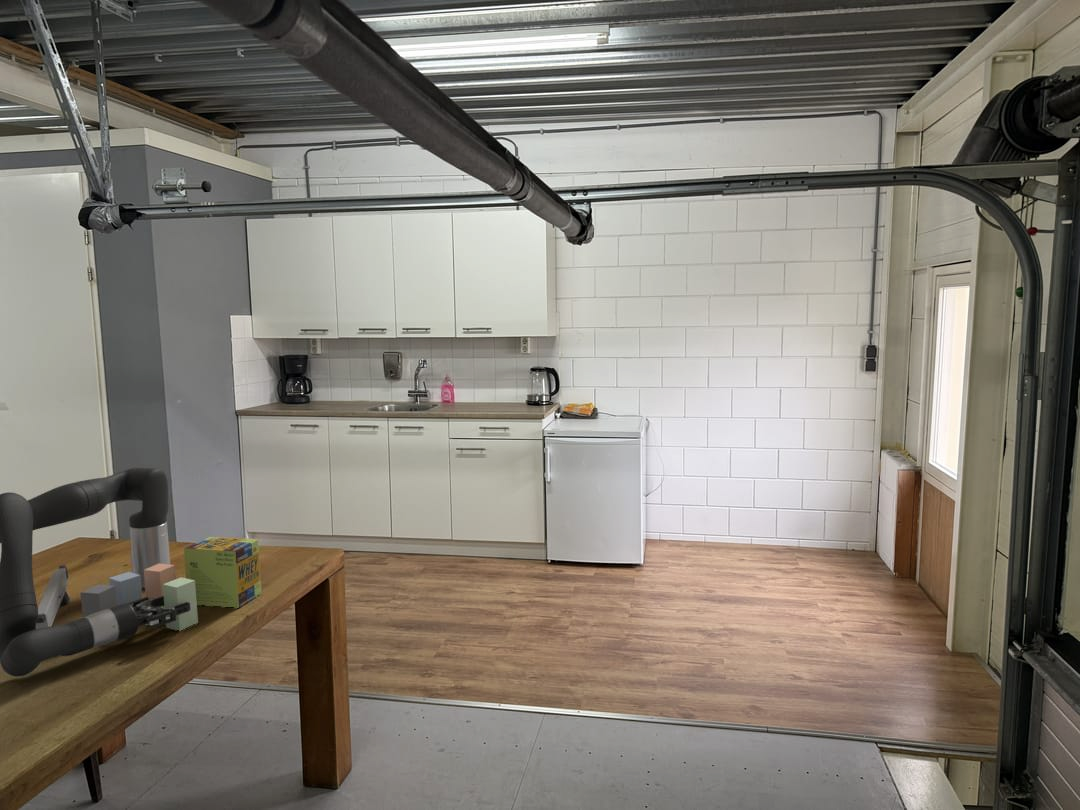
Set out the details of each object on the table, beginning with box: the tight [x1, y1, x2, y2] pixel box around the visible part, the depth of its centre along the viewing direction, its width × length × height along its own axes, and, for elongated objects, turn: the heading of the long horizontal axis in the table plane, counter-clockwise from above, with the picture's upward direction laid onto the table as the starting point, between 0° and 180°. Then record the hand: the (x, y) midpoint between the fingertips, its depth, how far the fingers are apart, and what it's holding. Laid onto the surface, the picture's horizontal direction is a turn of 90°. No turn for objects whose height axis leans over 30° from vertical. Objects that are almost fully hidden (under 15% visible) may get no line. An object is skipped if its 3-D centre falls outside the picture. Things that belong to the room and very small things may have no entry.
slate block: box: [108, 571, 143, 606], centre depth 179 cm, size 5×5×11 cm
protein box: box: [183, 536, 262, 609], centre depth 190 cm, size 10×15×16 cm
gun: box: [36, 564, 71, 629], centre depth 182 cm, size 2×25×10 cm, turn 21°
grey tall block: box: [79, 584, 117, 618], centre depth 171 cm, size 5×5×11 cm
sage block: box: [163, 577, 199, 632], centre depth 174 cm, size 5×5×11 cm
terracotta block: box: [144, 563, 177, 612], centre depth 185 cm, size 5×5×11 cm
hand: (180, 601), depth 174 cm, fingers open, 8 cm apart
